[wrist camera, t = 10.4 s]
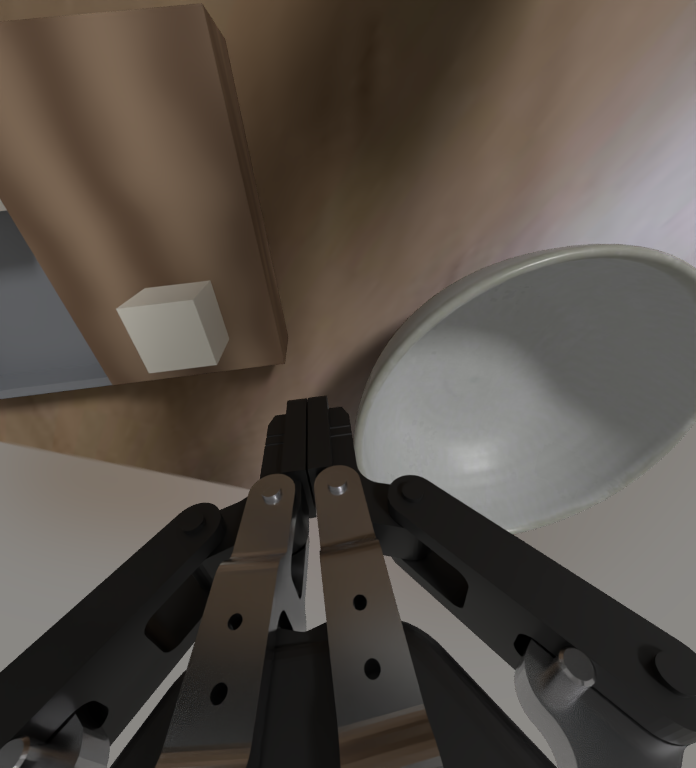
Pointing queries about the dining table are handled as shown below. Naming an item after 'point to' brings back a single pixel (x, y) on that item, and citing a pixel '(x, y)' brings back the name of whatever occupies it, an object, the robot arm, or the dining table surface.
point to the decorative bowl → (537, 382)
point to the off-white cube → (176, 326)
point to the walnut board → (136, 176)
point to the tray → (37, 328)
